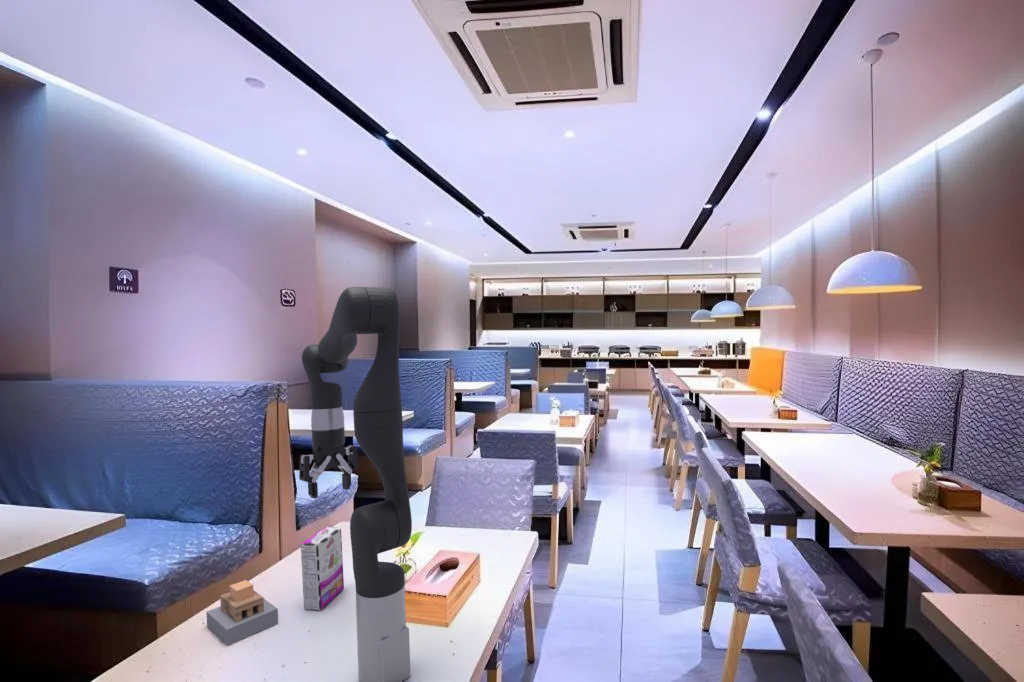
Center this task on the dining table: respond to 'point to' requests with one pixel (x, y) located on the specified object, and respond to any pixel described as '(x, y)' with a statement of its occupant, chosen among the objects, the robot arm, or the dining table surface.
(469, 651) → the dining table surface
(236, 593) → the block
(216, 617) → the dock
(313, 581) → the candy bar box
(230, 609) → the pallet
